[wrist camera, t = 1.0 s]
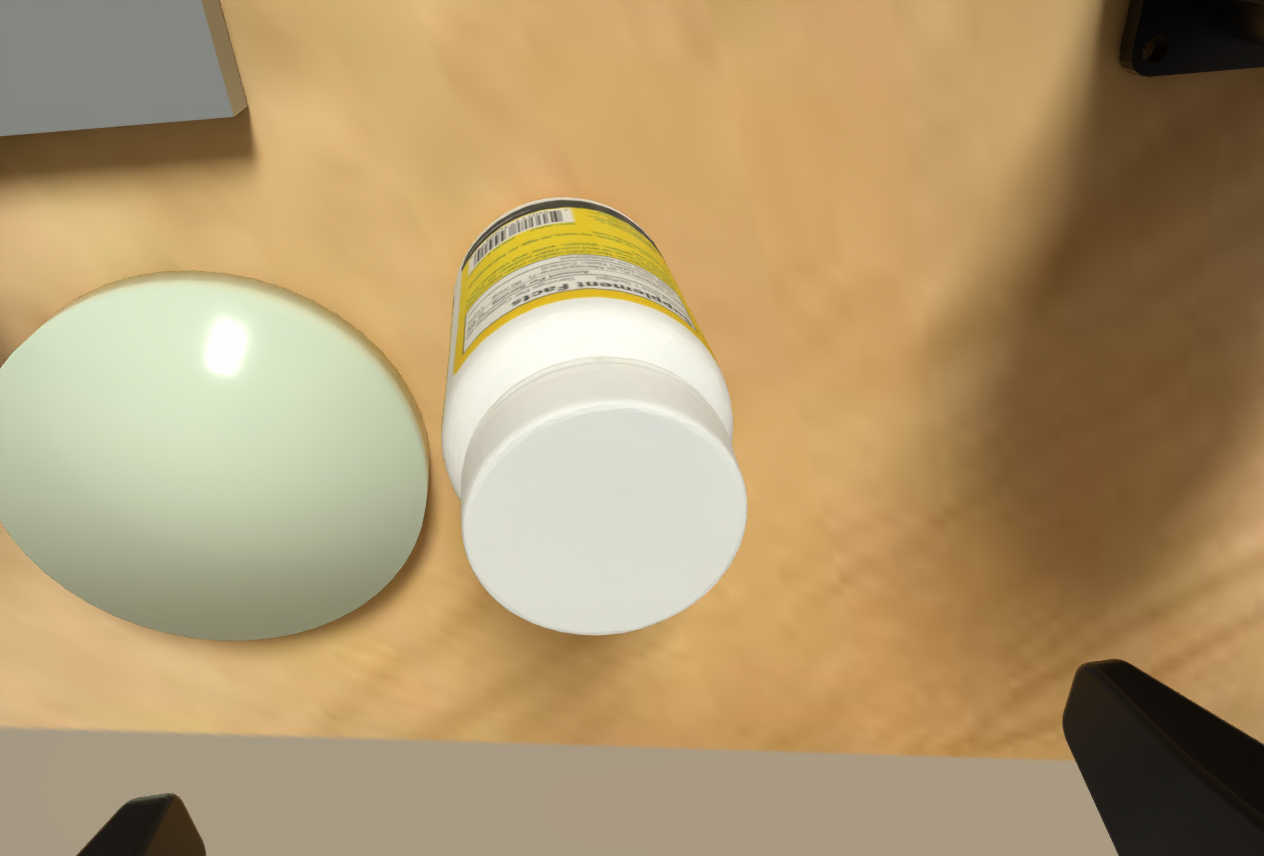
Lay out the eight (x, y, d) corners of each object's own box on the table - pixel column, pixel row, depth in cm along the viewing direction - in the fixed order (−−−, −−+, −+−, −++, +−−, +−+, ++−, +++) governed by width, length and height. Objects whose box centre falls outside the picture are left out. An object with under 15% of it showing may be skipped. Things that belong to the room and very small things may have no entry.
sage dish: (388, 249, 18) (382, 269, 17) (457, 581, 23) (455, 613, 22) (-74, 294, 17) (-110, 319, 16) (96, 629, 22) (77, 664, 21)
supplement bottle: (620, 418, 21) (687, 685, 14) (426, 360, 19) (386, 624, 12) (705, 236, 19) (836, 438, 12) (496, 155, 17) (497, 328, 10)
